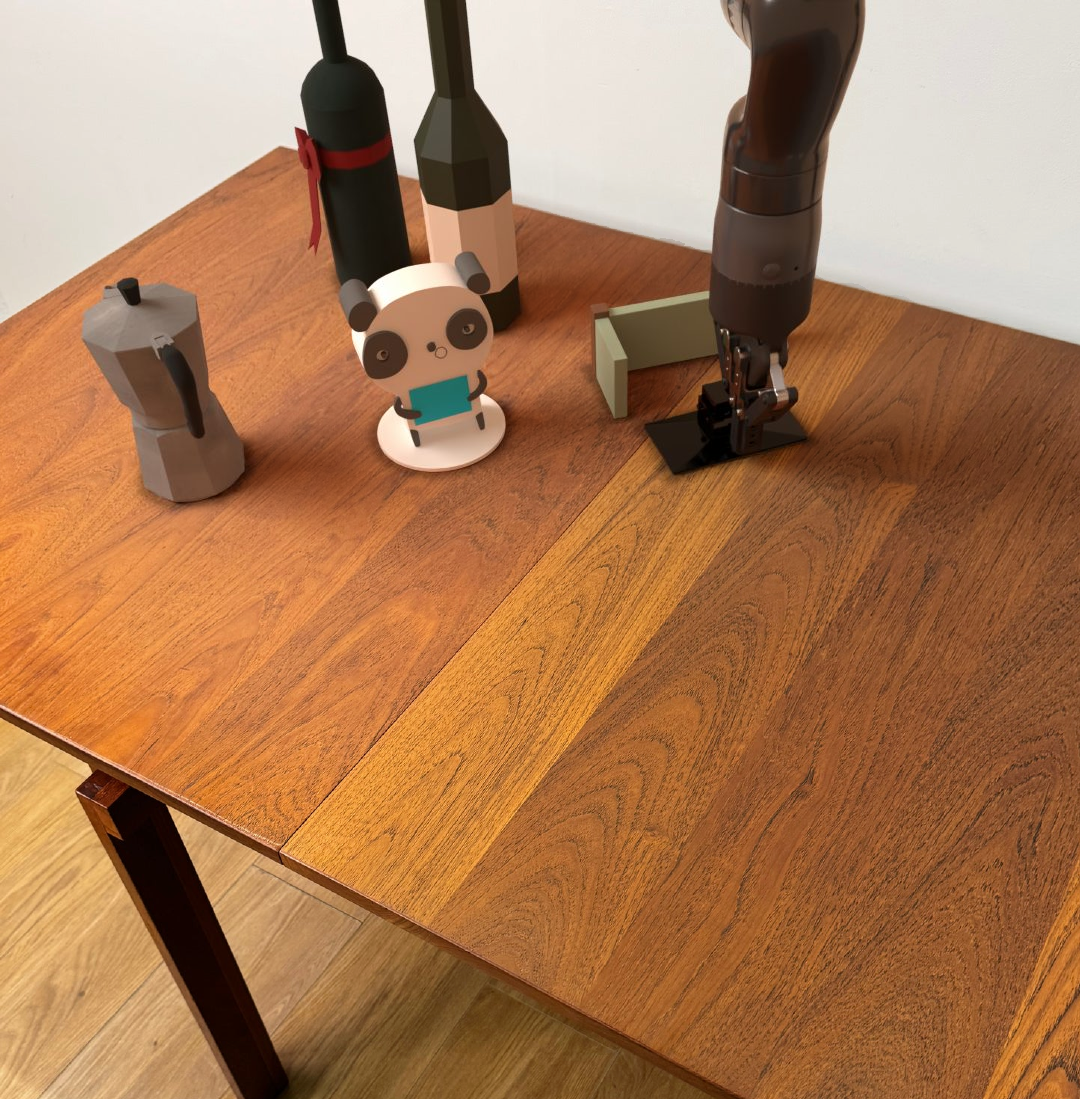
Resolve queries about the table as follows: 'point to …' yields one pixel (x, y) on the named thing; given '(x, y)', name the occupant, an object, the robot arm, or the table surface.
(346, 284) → the panda figurine
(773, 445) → the build plate
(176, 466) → the coffeepot
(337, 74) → the wine bottle
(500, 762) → the table surface
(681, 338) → the corner rails
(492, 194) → the wine bottle
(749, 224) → the robot arm
